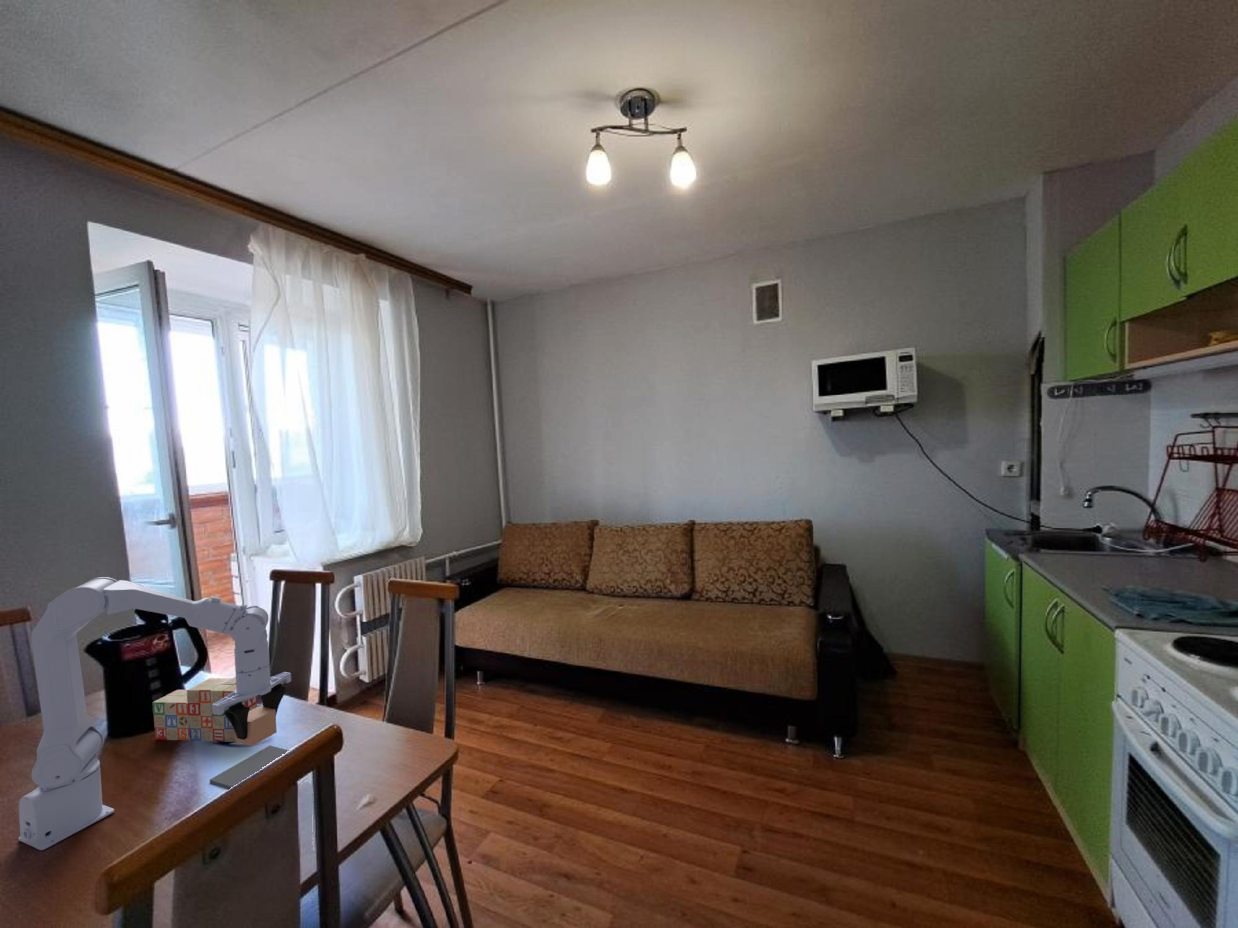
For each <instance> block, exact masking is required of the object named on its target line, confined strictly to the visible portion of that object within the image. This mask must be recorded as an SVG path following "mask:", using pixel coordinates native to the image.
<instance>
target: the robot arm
mask: <svg viewBox="0 0 1238 928" xmlns="http://www.w3.org/2000/svg"><path fill="white" fill-rule="evenodd" d="M221 599H222V597H220V596H215V595H214V596H213V597H212V598H210V597H203V598H202V599H198V600H192V599H188V598H184V597H181V596H177V595H175V594H171V593H168V592H164V591H161V590H157V589H154V588H151V587H147V586H144V585H141V584H137V583H135V582H131V581H129V580H123V579H122V580H121V579H119V580H117V579H115V578H113V577H107V576H102V577H95V578H92V579H89V580H88V581H86V582H85V583H83V584H80V585H78V586H76V587H73V588H70V589H68V590H66V591H64V592H63V593H61V594H60V595H58V596H57V597H56V598H55V599H53V600H52V601H50V602H49V603H48V604H47V608H46V611H45V612H44V614H43V615H42V617H41V618H40V619H39V621H38V623H37V624H36V625H35V627H34V628H33V630H32V631H31V633H30V634H31V635H30V639H31V641H30V642H31V646H32V647H31V648H32V654H33V661H34V662H33V663H34V667H35V675H36V684H37V690H38V697H39V705H40V711H41V719H42V726H43V734H42V737H41V739H40V741H39V744H38V746H37V748H36V761H35V763H34V766H33V767H32V770H31V774H30V775H31V779H32V781H33V782H34V784H35V785H37V786H38V787H36V788H35V789H33V790H32V791H31V792H28V793H27V794H25V795H24V796H22V797H20V799H19V801H18V818H19V819H18V821H19V835H20V836H19V837H18V841H20V842H22V843H24V844H26V845H29V846H30V847H33V848H35V849H37V850H39V851H44V850H47V849H48V848H50V847H52V846H53V845H56V844H57V843H59V842H61V841H63V840H65V839H67V838H68V837H70V836H72V835H74V834H76V833H78V832H79V831H82V830H84V829H86V828H87V827H90V826H91V825H93V824H94V823H96V822H98V821H100V820H102V819H104V818H106V817H108V816H109V815H111V814H113V813H114V812H115V808H112V807H110V806H107V805H106V804H103V792H102V778H101V774H102V773H101V763H100V760H99V759H98V757H97V753H98V752H99V751H101V749H102V747H103V746H104V744H105V737H104V734H103V732H102V731H101V730H100V729H98V727H97V725H96V721H95V718H93V716H91V715H89V714H88V711H87V705H86V703H87V702H86V696H85V688H84V680H83V674H82V666H81V665H82V664H81V658H80V652H79V643H78V636H77V634H78V632H79V631H81V630H82V629H83V628H84V627H85V626H87V624H89V623H90V622H91V621H92V620H93V619H95V618H97V617H98V616H99V615H100V614H101V613H103V612H105V611H107V613H106V614H107V615H113V614H116V613H121V612H124V611H128V610H132V609H133V610H135V609H136V610H139V611H140V610H141V611H146V612H152V613H157V614H161V615H167V616H173V617H177V618H184V619H185V621H186V623H187V624H188V626H189V627H192V628H197V629H202V630H206V631H210V632H215V633H219V634H224V635H230V638H232V640H234V648H233V649H234V650H233V651H234V667H235V668H234V670H235V672H234V673H235V678H236V691H234V692H233V693H231V694H229V695H228V696H226V697H225V698H223V699H221V700H220V701H218V702H216V703H214V704H212V714H216V715H220V714H222V713H223V714H224V715H225V716H226V717H227V719H228V720H229V721H230V723H231V724H232V726H233V728H234V731H235V733H236V736H237V738H238V739H242V740H244V739H246V738H247V734H248V729H247V719H248V713H249V709H250V708H249V707H244V704H242V703H243V702H245V701H247V700H249V699H251V698H253V697H256V696H257V697H258V696H260V700H261V702H262V707H266V708H271V709H275V712H276V715H277V713H278V709H279V707H280V704H281V702H282V700H283V697H284V695H285V694H286V691H287V690H286V687H285V686H283V684H289V683H290V682H292V673H291V672H287V671H283V672H281V673H278V674H276V675H273V676H271V668H270V650H269V649H270V647H269V646H270V645H269V640H268V633H267V629H266V628H267V626H268V623H269V614H268V612H267V611H266V609H264V608H262V607H260V606H258V605H251V606H248V605H247V604H243V603H242V604H241V605H237V604H234V603H230V602H225V601H221Z"/></svg>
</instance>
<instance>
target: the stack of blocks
mask: <svg viewBox="0 0 1238 928" xmlns="http://www.w3.org/2000/svg"><path fill="white" fill-rule="evenodd" d="M234 691H236V677H228V678H227V677H226V678H225V677H224V678H223V677H222V678H221V677H210V678H207V679H206V680H203V681H201V682H200V683H198V684H196V685H195V686H193V687H190V688H188V689H176V690H174V691H172V692H170V693H168V694H166V695H165V696H163V697H160V698H159V699H156V700H154V701H153V702H152V714H153V723H154V724H153V725H154V737H155V738H154V739H155V740H167V741H200V742H201V741H203V742H205V741H206V742H230V743H237V742H236V739H235V731H234V728H233V726H232V724H231V723H230V721H229V720H228V719H227V717H226V716H225V715H224V714H223V713H222V714H220V715H216V714H212V704H214V703H216V702H218V701H220V700H221V699H223V698H225V697H226V696H228V695H229V694H231V693H233V692H234ZM257 703H258V696H256V697H253V698H251V699H249V700H247V701H245V702H243V703H242V704H244V707H249V708H250V709H249V711H250V710H252V709H254V708H256V707H258V704H257Z"/></svg>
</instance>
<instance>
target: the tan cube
mask: <svg viewBox="0 0 1238 928" xmlns="http://www.w3.org/2000/svg"><path fill="white" fill-rule="evenodd" d="M247 729H248V734H247V738H246V739H244V740H242V739H238V738H237V736H236V733H235V739H236V742H235V743H238V744H241V745H245V746H250V747H253V746H255V745H257V744H259V743H260V742H262V741H264V740H266V739H267V738H269V737H271V736H273V735H274V734H277V714H276V712H275V709H271V708H266V707H263V706H260V705H258V706H257V707H256V708H254V709H252V710H250V711H249V713H248V719H247Z"/></svg>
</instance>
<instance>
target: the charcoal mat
mask: <svg viewBox="0 0 1238 928" xmlns="http://www.w3.org/2000/svg"><path fill="white" fill-rule="evenodd" d="M287 751H289V749H285V748H282V747H277V746H274V745H268V746H266V747H264V748H263V749H261V750H259V751H258V752H256V753H254V754H252V755H250V756H248V757H247V758H245V759H244V760H242V761H240V762H238V763H236V764H235V765H233V766H231V767H229V768H228V769H226V770H224V771H222V772H221V773H219V774H217V775H215V776H213V777H211V778H210V779H209V783H210V784H213V785H217V786H219V787H221V788H222V787H223V788H226V789H229V790H231V789H230V788H231V787H233V786H234V785H236V784H238V783H239V782H241V781H242V780H244V779H246V778H247V777H249V776H250V775H252V774H254V773H255V772H257V771H259V770H260V769H262V767H264V766H266V765H267V764H269V763H270V762H272V761H273V760H275V759H276V758H278V757H280V756H282V754H285V753H286V752H287Z"/></svg>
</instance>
